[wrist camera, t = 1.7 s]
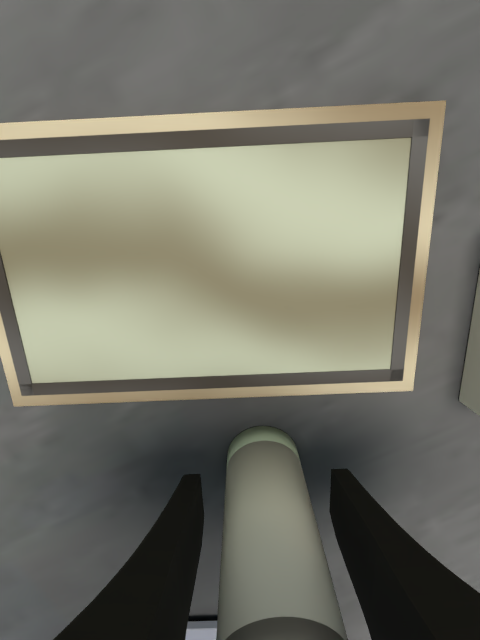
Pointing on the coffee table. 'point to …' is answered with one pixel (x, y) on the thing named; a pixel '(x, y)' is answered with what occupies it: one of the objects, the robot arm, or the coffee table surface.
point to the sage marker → (272, 547)
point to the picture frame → (216, 253)
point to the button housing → (472, 361)
